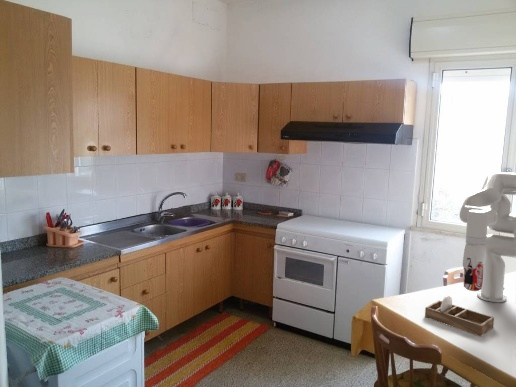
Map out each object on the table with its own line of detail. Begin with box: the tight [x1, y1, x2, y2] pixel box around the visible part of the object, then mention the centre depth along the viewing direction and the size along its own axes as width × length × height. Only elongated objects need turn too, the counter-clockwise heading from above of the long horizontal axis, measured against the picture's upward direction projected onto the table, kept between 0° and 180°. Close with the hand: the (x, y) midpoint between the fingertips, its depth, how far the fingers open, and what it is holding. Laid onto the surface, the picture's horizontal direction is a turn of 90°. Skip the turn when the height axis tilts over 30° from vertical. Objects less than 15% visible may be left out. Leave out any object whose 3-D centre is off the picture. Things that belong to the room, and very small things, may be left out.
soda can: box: [463, 263, 483, 292], centre depth 180 cm, size 7×7×12 cm
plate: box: [440, 295, 453, 313], centre depth 191 cm, size 9×1×9 cm, turn 130°
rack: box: [424, 300, 495, 337], centre depth 187 cm, size 12×24×4 cm, turn 40°
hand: (473, 281), depth 181 cm, fingers closed on soda can, 7 cm apart
